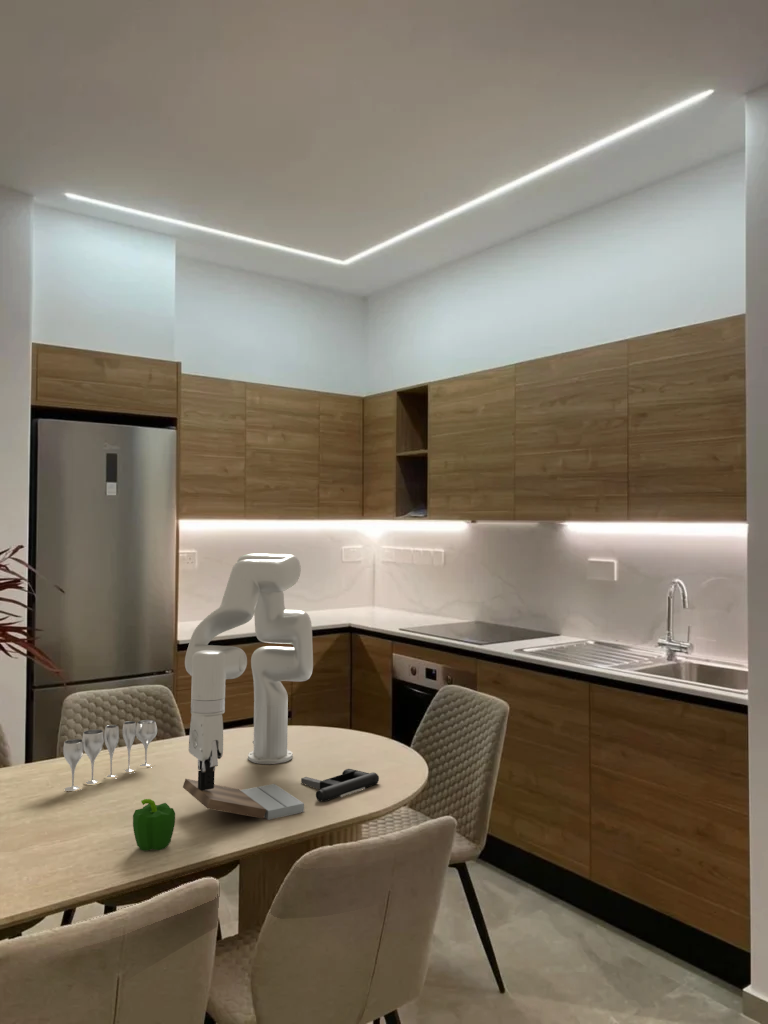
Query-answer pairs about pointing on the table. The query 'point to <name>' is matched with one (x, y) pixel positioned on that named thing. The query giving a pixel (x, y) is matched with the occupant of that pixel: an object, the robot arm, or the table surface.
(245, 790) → the laid boards
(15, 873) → the table surface
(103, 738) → the goblet set
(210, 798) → the plank
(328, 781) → the door handle
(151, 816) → the bell pepper
